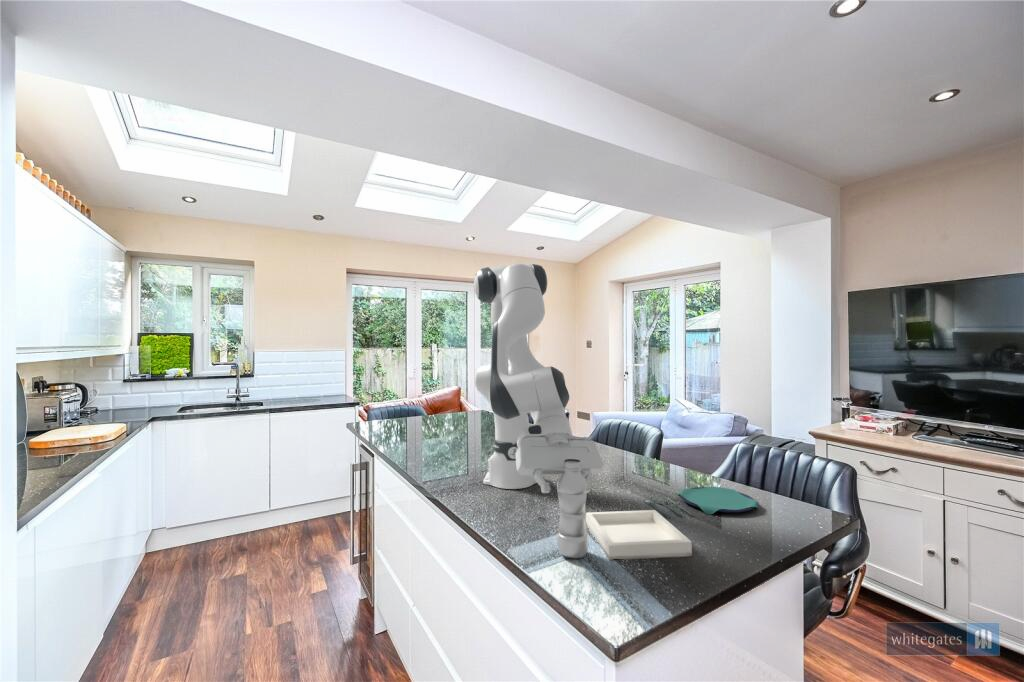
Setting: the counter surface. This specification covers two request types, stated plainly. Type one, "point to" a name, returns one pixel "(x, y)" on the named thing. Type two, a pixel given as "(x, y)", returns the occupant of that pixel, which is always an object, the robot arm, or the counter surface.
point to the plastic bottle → (572, 511)
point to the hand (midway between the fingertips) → (566, 491)
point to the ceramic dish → (637, 535)
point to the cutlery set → (711, 500)
